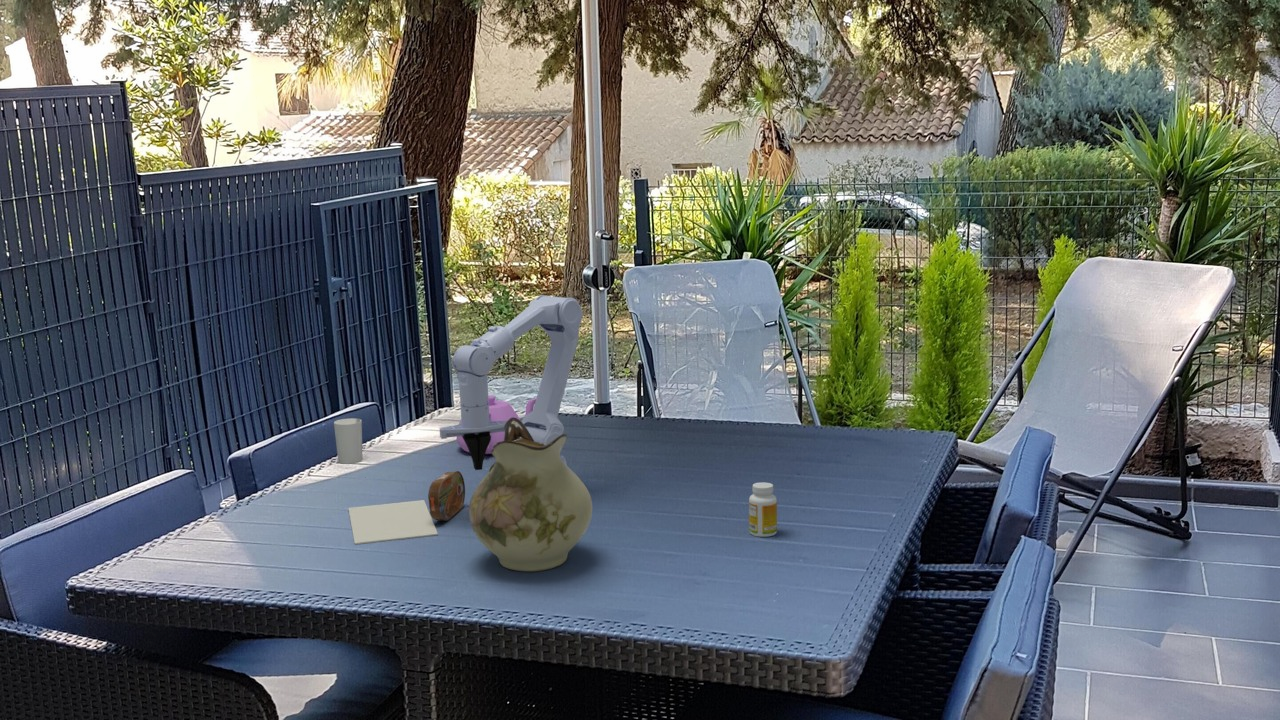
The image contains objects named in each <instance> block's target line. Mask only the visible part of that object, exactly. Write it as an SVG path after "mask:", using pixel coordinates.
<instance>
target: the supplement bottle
mask: <svg viewBox="0 0 1280 720" xmlns="http://www.w3.org/2000/svg"><path fill="white" fill-rule="evenodd" d="M773 493H774V484H773V483H770V482H763V481H762V482H755V483H753V484H752V494H751V495H749V499H748V515H749V518H748V523H749V524H748V529H749V534H750V535H752V536H754V537H760V538H767V537H772V536H775V535H776V534H777V532H778V514H777V513H778V501H777V499H778V498H777V497H776V495H775V494H773Z"/></svg>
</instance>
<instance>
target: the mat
mask: <svg viewBox="0 0 1280 720" xmlns="http://www.w3.org/2000/svg"><path fill="white" fill-rule="evenodd" d="M348 514H349V520H350V525H351V531H352V537H353V543H354V545H361V544H363V545H364V544H370V543H371V544H372V543H380V542H381V543H382V542H390V541H400V540H408V538H409V539H414V538H415V539H416V538H424V537H435V536H439V533H438V531H437V528H436V525H435V523H434V522H433V518H432V516H431V514H430V510H429V507H428V506H427V504H426V501H425V499H420V500H410V501H401V502H393V503H392V502H391V503H383V504H373V505H364V506H355V507H354V506H353V507H348Z"/></svg>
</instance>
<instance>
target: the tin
mask: <svg viewBox="0 0 1280 720" xmlns="http://www.w3.org/2000/svg"><path fill="white" fill-rule="evenodd" d="M465 496H466V484H465V479H464V476H463V474H462V473H461V472H460V471H458V470H455V471H447V472H444V473H443V474H442V475H440V476H439V477H438V478H436V479H435V480H434V481H432V482H431V484H430V485H429V489H428V495H427V497H428V498H427V499H428V506H429V507H428V509H429V513H430V516H431V518H432V520H435V521H449V520H450V519H452V517H454V516H455V515H456V514H457V513H459V512H460V511H461V510H462V509H463V506H464V504H465V501H466V500H465V499H466V497H465Z"/></svg>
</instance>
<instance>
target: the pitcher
mask: <svg viewBox="0 0 1280 720" xmlns="http://www.w3.org/2000/svg"><path fill="white" fill-rule="evenodd" d="M521 421H522V420H521V419H520V420H519V419H517V418H514V417H512V418H510V419H509V420H508V421H507V422H506V424H505V426H504V428H505V436H504V441H502V442H498V443H497V444H496V445H494V446H493V449H492V450H491V453H492V454H491V455H492V456H493V458H494V460H495V461H494V463H493V464H491V466H490V468H489V470H488V473H487V474H486V475H484V477H483V479H482V480H480V483H479V484H477V487H476V488H475V489H474V491H473V494H471V495H472V496H471V499H470V501H469V508H468V515H469V521H470V525H471V528H472V531H473V533H474V534H475V536H476V537H477V539H478V540H479V542H480V543H481V544H482V545H483V546H484V547H485V548H486V549H488V551H489V552H491V553H492V554H493V555H495V556H497V559H498V562H499V563H500V565H501V566H502V567H504V568H505V569H509V570H513V571H517V572H541V571H546V570H551V569H553V568H554V569H555V568H556V567H560V566H561V565H562V564H564V563H565V562H566V561H567V560H568V559H567V558H568V554H569V552H570V551H571V550H572V549H573V548H574V547H575V546H576V544H578V542H579V541H580V540H581V539H582V537H583V536H584V534H585V533H586V532H587V530H588V528H589V525H590V523H591V520H592V516H593V501H592V500H593V499H592V496H591V494H590V491H589V490H588V488H587V487H586V485H585V484H584V482H582V481H583V480H581V479H580V478H579V477H578V475H577V474H576V473H575V472H574V471H573V470H572V469H571V468H570V467H569V466H568V465H567V466H566V465H565V464H564V462H563V461H562V460H561V457H560V456H561V452H562V450H561V448H562V449H563V447H564V445H565V443H566V441H567V438H568V434H565V433H563V434H562V435H560V436H559V437H557V438H556V439H554V440H553V441H551V442H550V443H548V444H547V445H544V444H543V443H539V442H535V441H534V440H533V438H532V436H531V434H530V433H529V431H528V430H527V428H526V427H525V425H524V424H523V423H522V422H521ZM562 446H563V447H562ZM560 451H561V452H560Z"/></svg>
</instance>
